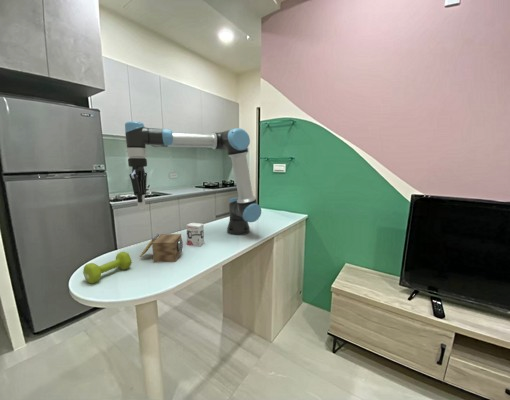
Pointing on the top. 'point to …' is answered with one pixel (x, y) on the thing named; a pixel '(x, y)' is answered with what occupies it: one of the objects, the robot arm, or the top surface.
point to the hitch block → (166, 248)
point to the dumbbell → (106, 267)
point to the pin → (179, 245)
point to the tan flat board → (149, 245)
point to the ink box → (195, 234)
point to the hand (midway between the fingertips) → (141, 208)
